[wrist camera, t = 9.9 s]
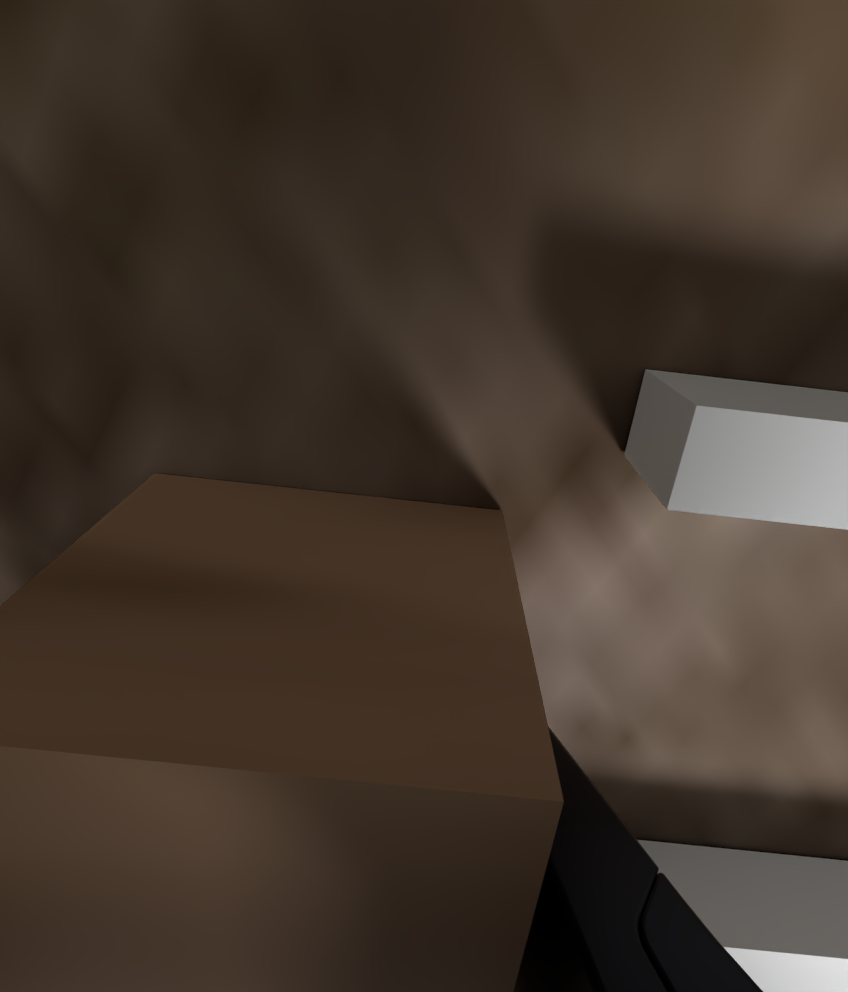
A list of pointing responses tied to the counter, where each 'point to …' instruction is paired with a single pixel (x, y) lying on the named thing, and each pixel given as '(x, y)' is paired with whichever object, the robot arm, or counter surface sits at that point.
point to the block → (272, 750)
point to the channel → (771, 497)
